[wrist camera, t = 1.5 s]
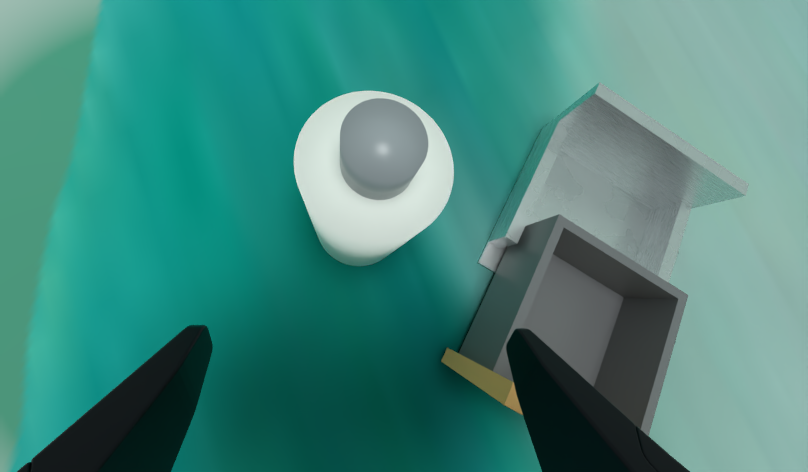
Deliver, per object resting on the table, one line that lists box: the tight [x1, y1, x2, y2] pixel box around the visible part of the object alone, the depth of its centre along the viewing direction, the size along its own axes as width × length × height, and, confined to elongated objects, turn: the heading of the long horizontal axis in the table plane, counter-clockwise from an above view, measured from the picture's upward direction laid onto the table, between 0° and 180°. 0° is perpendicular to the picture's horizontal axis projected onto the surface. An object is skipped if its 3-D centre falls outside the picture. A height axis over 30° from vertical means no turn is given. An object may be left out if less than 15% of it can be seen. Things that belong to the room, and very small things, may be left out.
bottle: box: [294, 91, 454, 266], centre depth 16 cm, size 6×6×13 cm
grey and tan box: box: [441, 214, 688, 435], centre depth 19 cm, size 11×12×8 cm
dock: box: [478, 83, 749, 283], centre depth 23 cm, size 13×13×6 cm
